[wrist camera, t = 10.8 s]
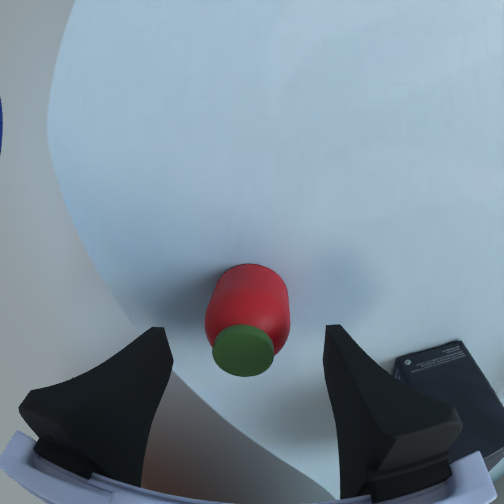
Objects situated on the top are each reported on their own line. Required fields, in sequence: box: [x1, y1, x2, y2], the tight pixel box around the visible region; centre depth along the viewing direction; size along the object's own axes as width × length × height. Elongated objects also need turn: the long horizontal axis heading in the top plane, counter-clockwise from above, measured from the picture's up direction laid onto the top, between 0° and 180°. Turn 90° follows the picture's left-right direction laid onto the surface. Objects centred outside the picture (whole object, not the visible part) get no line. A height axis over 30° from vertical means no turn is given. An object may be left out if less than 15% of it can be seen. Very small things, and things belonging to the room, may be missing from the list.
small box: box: [394, 341, 504, 472], centre depth 14 cm, size 11×6×10 cm, turn 10°
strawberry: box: [205, 264, 290, 377], centre depth 14 cm, size 4×4×5 cm
